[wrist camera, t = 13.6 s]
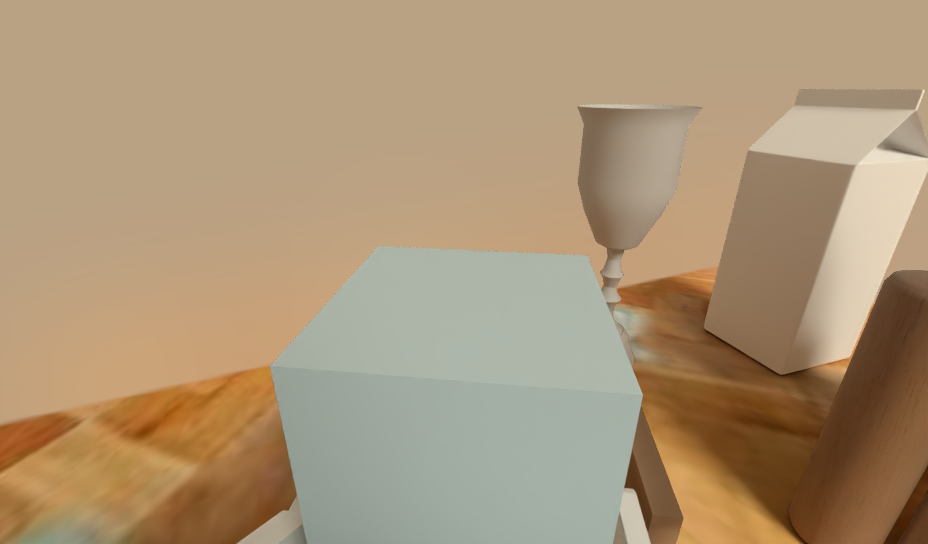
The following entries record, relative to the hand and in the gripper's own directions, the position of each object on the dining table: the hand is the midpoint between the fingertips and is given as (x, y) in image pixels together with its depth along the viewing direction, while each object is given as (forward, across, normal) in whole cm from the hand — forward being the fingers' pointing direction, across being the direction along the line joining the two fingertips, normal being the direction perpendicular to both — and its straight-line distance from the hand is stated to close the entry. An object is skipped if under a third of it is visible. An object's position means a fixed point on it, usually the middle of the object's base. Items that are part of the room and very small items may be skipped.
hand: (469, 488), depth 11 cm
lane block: (-1, 0, +8) cm, 8 cm away
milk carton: (+25, -22, +10) cm, 34 cm away
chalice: (+22, -8, +10) cm, 25 cm away
